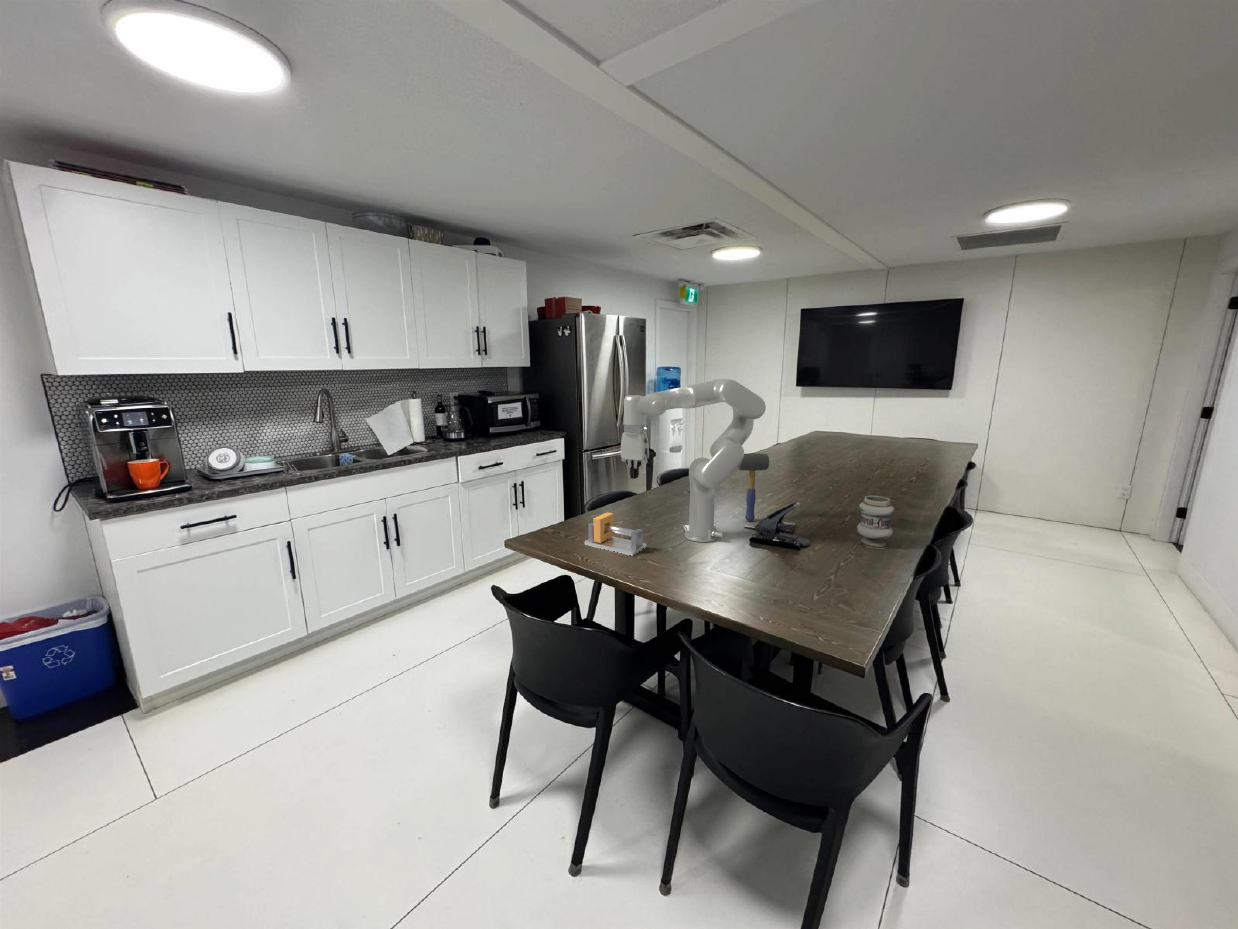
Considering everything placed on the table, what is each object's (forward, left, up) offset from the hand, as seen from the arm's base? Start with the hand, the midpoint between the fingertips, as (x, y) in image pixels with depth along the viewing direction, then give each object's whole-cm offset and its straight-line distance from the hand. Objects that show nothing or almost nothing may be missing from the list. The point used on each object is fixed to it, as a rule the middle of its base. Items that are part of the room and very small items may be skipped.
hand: (634, 477), depth 179 cm
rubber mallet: (-30, -48, -25) cm, 62 cm away
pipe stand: (+3, +8, -25) cm, 27 cm away
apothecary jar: (-78, -45, -25) cm, 94 cm away
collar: (+9, +8, -23) cm, 26 cm away
